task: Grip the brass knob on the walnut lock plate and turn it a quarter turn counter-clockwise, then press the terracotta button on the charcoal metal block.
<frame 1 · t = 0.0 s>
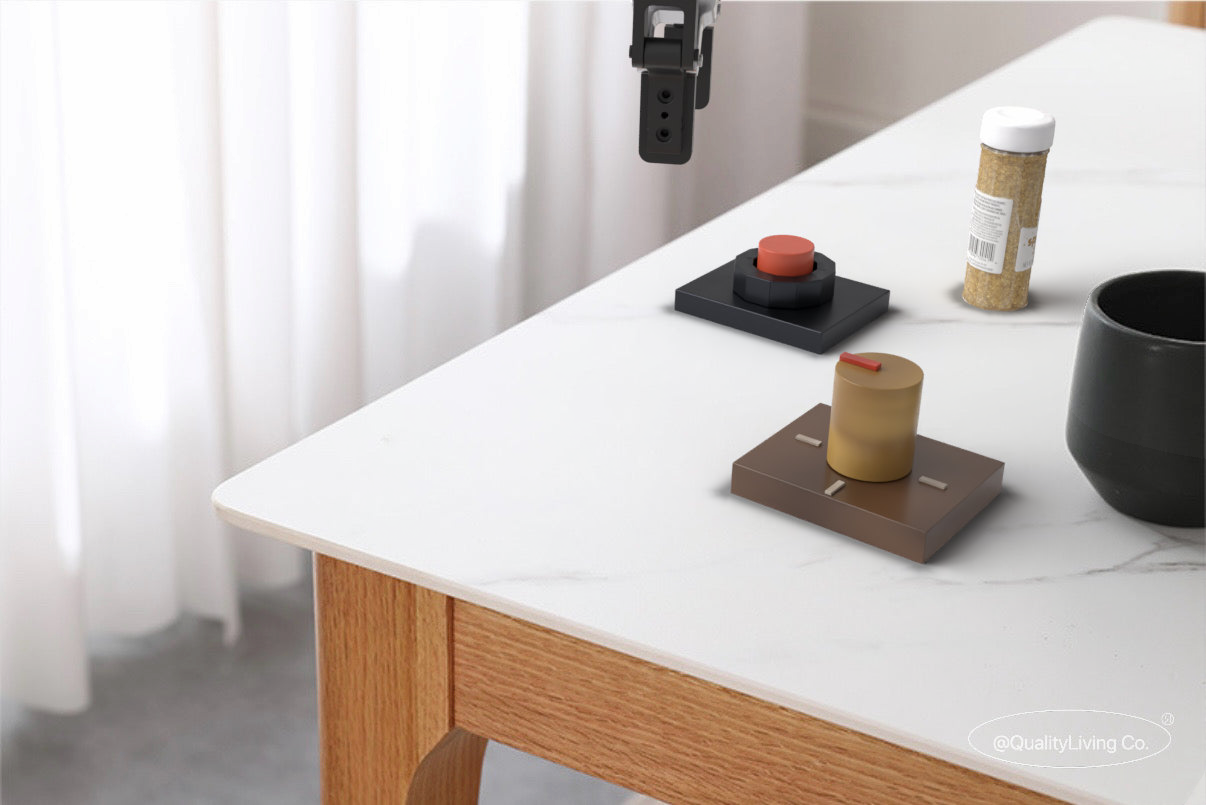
hand: (676, 132, 69), 21 cm above the table, tool pointing down, fingers open, 8 cm apart
lock plate: (864, 504, 82), on the table
button block: (780, 320, 103), on the table
button: (785, 256, 101), point 4 cm above the table, slide at 0.1 cm
lock knob: (874, 413, 79), point 5 cm above the table, hinge at 0.0°
sprinkles bottle: (992, 310, 106), on the table
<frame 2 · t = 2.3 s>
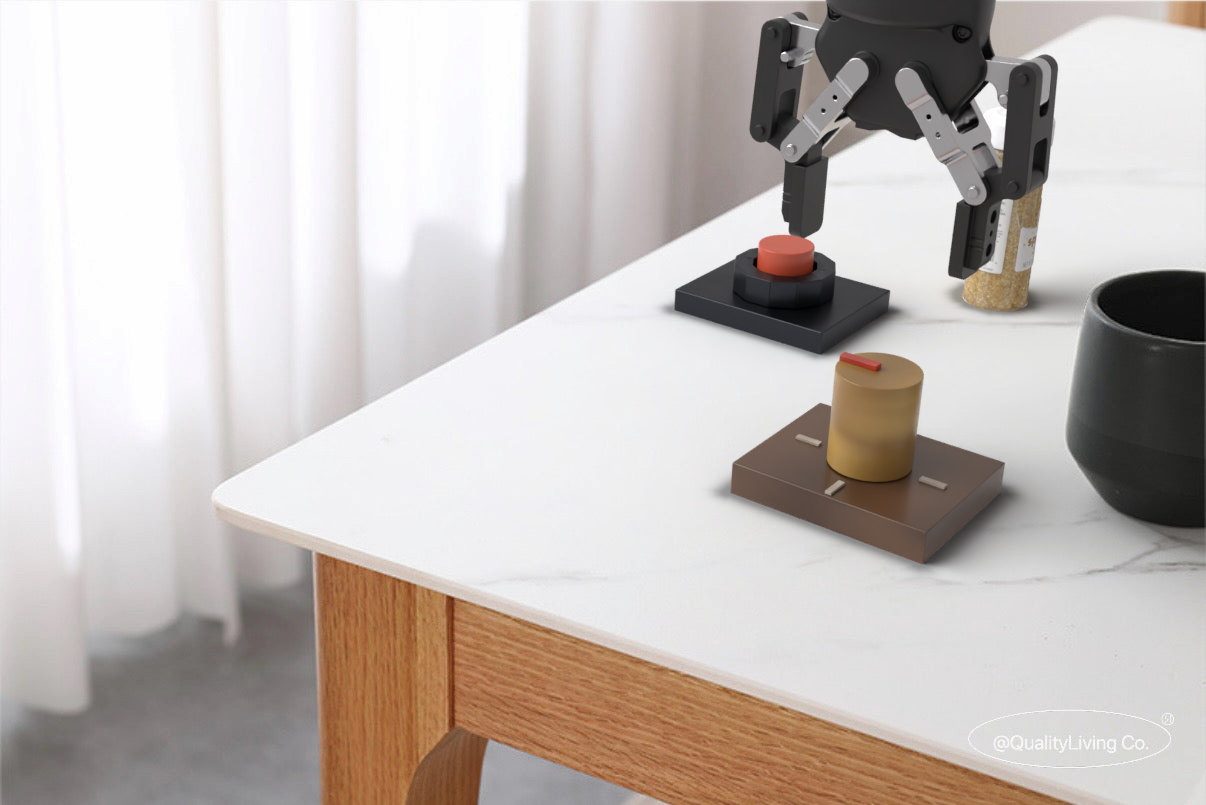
hand: (881, 252, 75), 14 cm above the table, tool pointing down, fingers open, 8 cm apart
nothing on the table moved.
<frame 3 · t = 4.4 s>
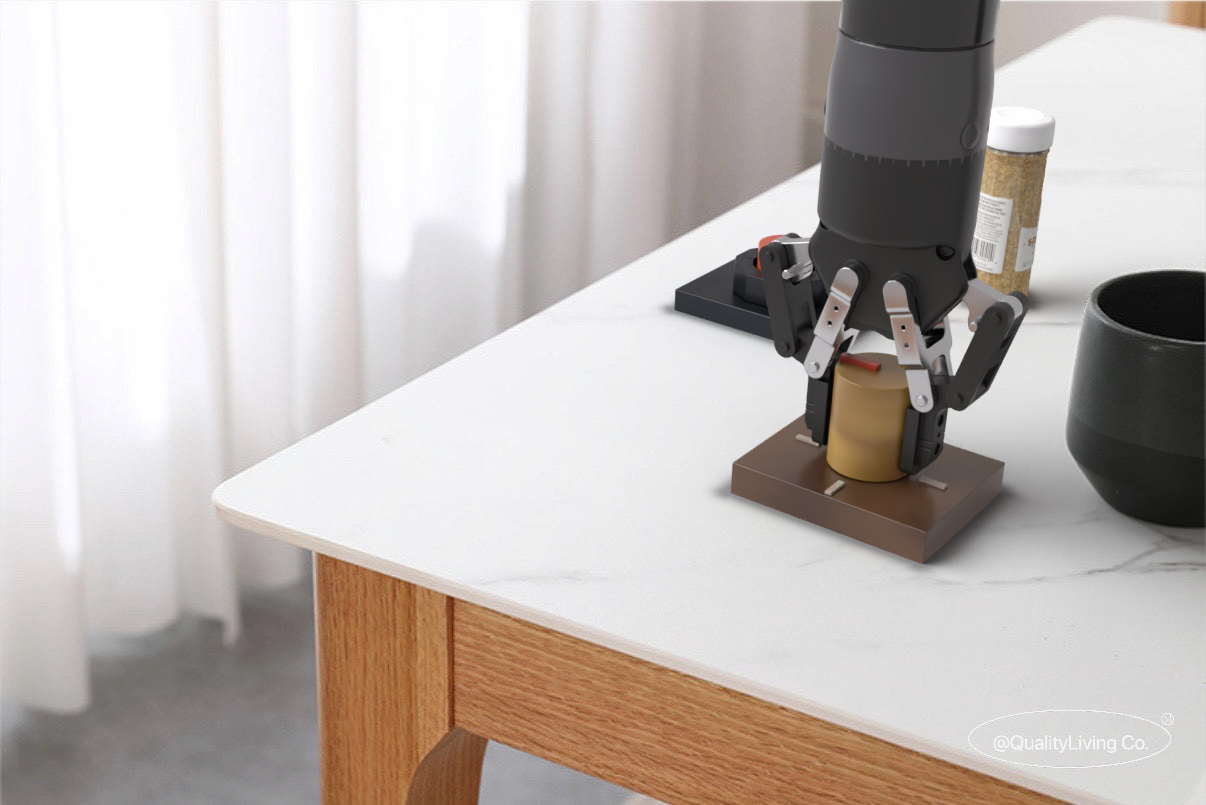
hand: (869, 451, 80), 3 cm above the table, tool pointing down, fingers closed on lock knob, 4 cm apart
lock knob: (874, 413, 79), point 5 cm above the table, hinge at 0.2°, touching gripper
everything else where it was.
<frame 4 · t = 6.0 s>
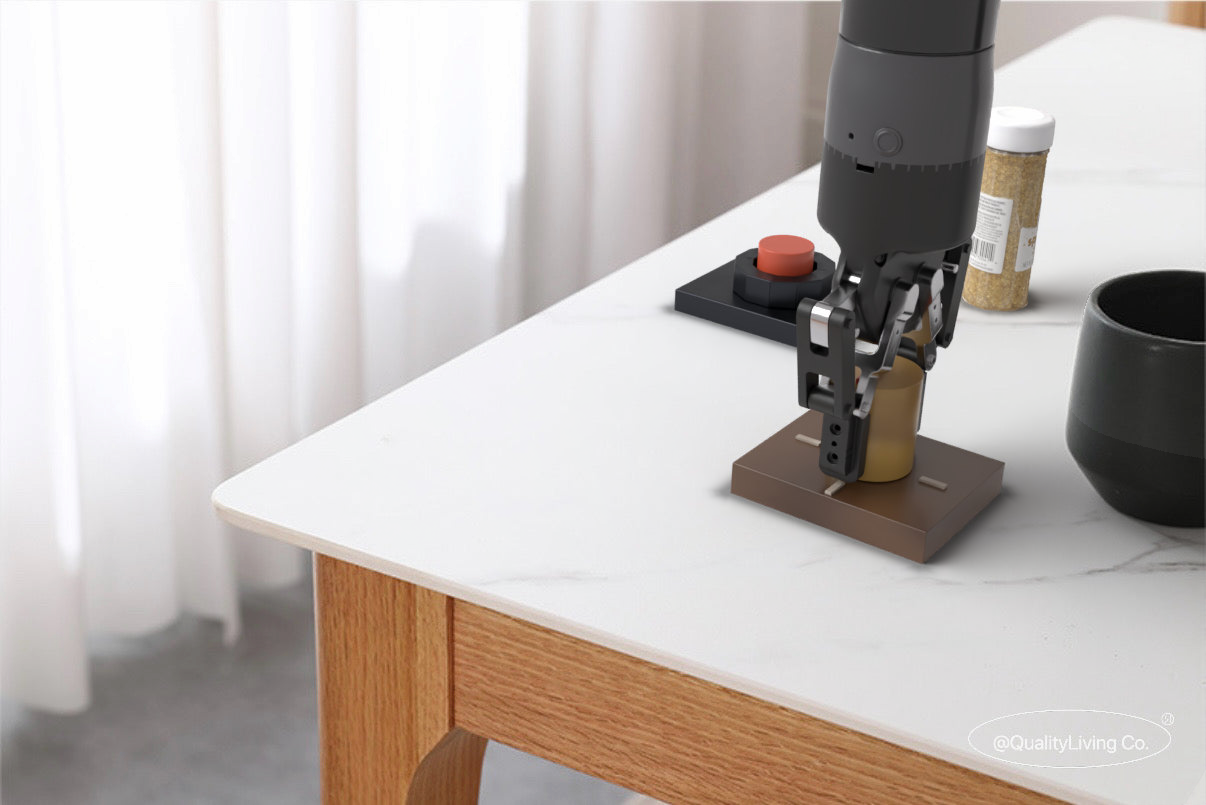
hand: (869, 452, 80), 3 cm above the table, tool pointing down, fingers open, 5 cm apart
lock knob: (874, 413, 79), point 5 cm above the table, hinge at 92.5°
everything else where it was.
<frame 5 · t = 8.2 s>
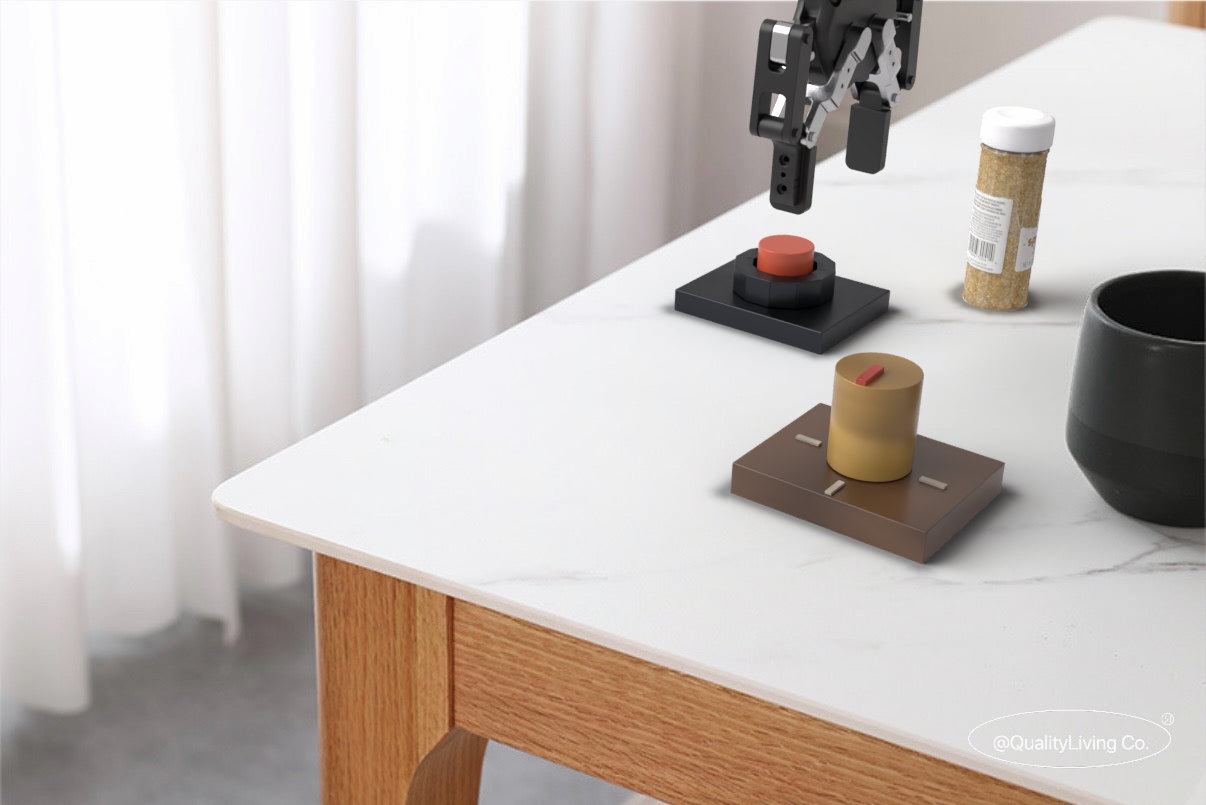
hand: (828, 189, 87), 13 cm above the table, tool pointing down, fingers open, 8 cm apart
nothing on the table moved.
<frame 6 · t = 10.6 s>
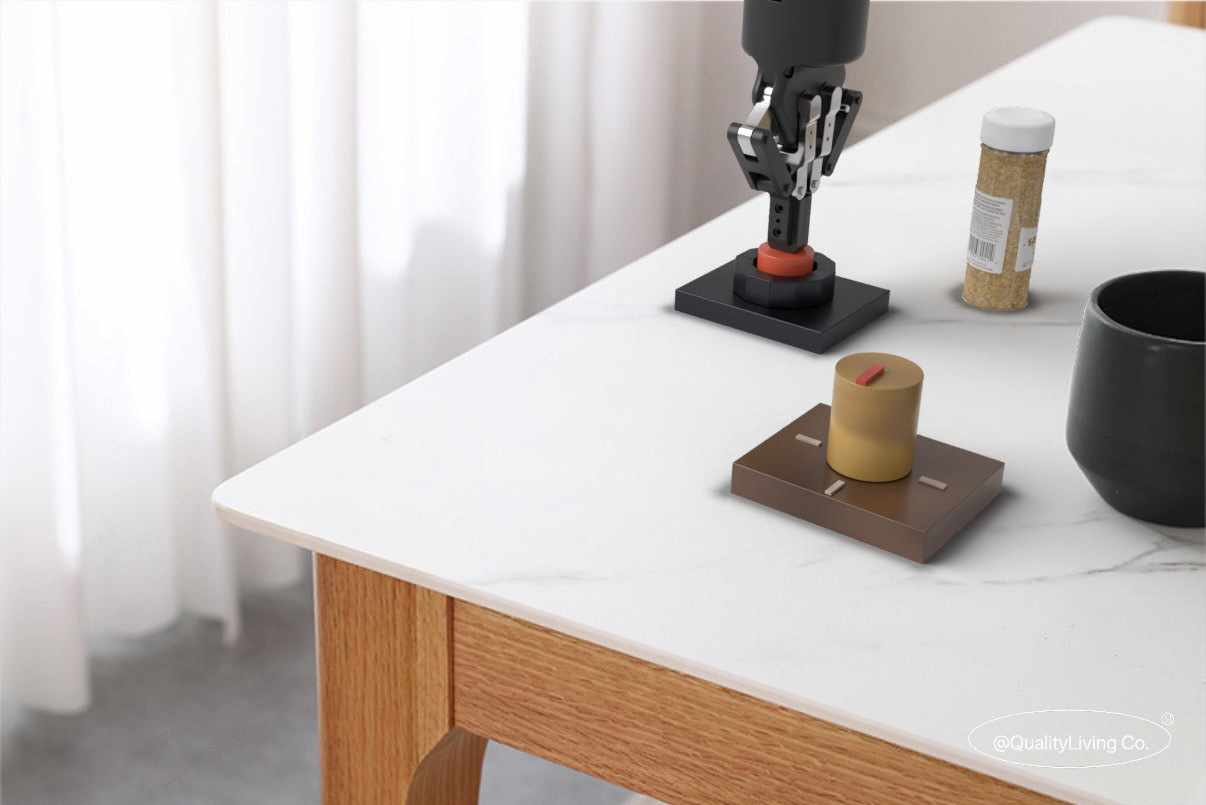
hand: (786, 247, 101), 5 cm above the table, tool pointing down, fingers closed
button: (785, 261, 101), point 4 cm above the table, slide at -0.2 cm, touching gripper
everything else where it was.
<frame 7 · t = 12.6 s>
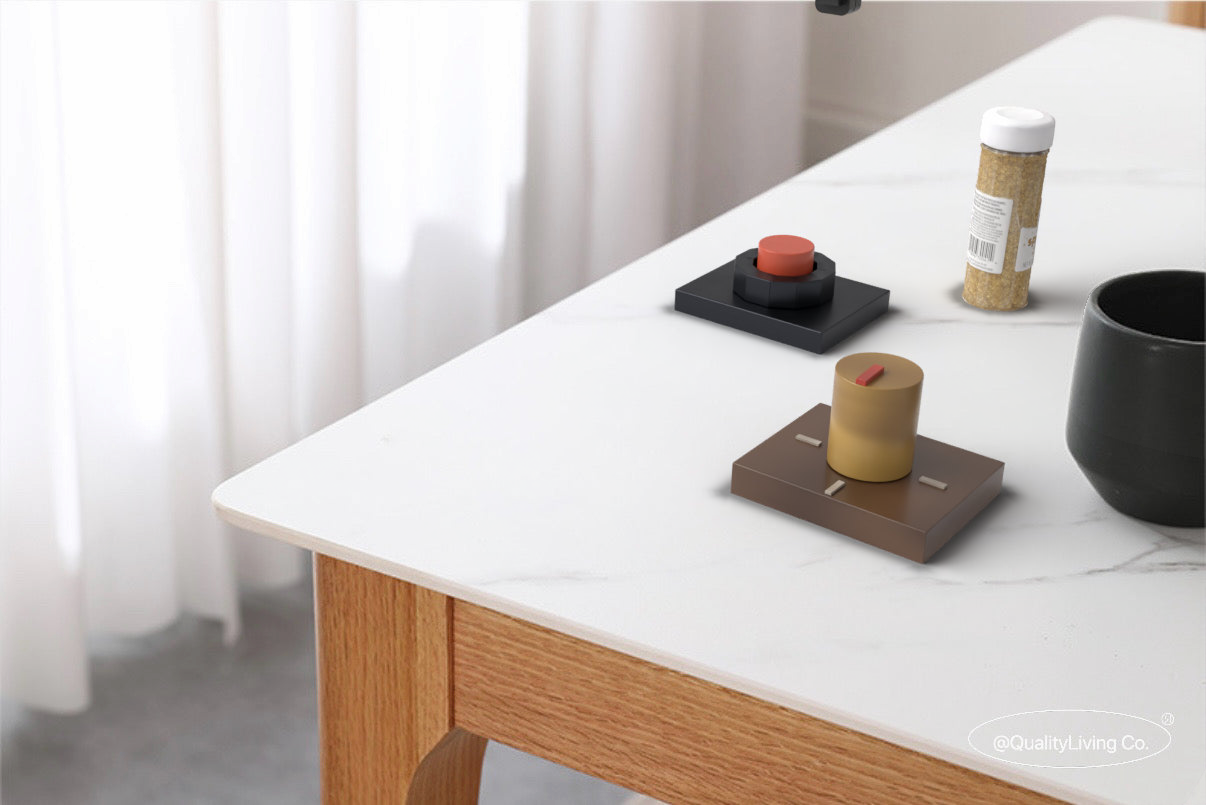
hand: (837, 11, 90), 21 cm above the table, tool pointing down, fingers closed
button: (785, 256, 101), point 4 cm above the table, slide at 0.1 cm
everything else where it was.
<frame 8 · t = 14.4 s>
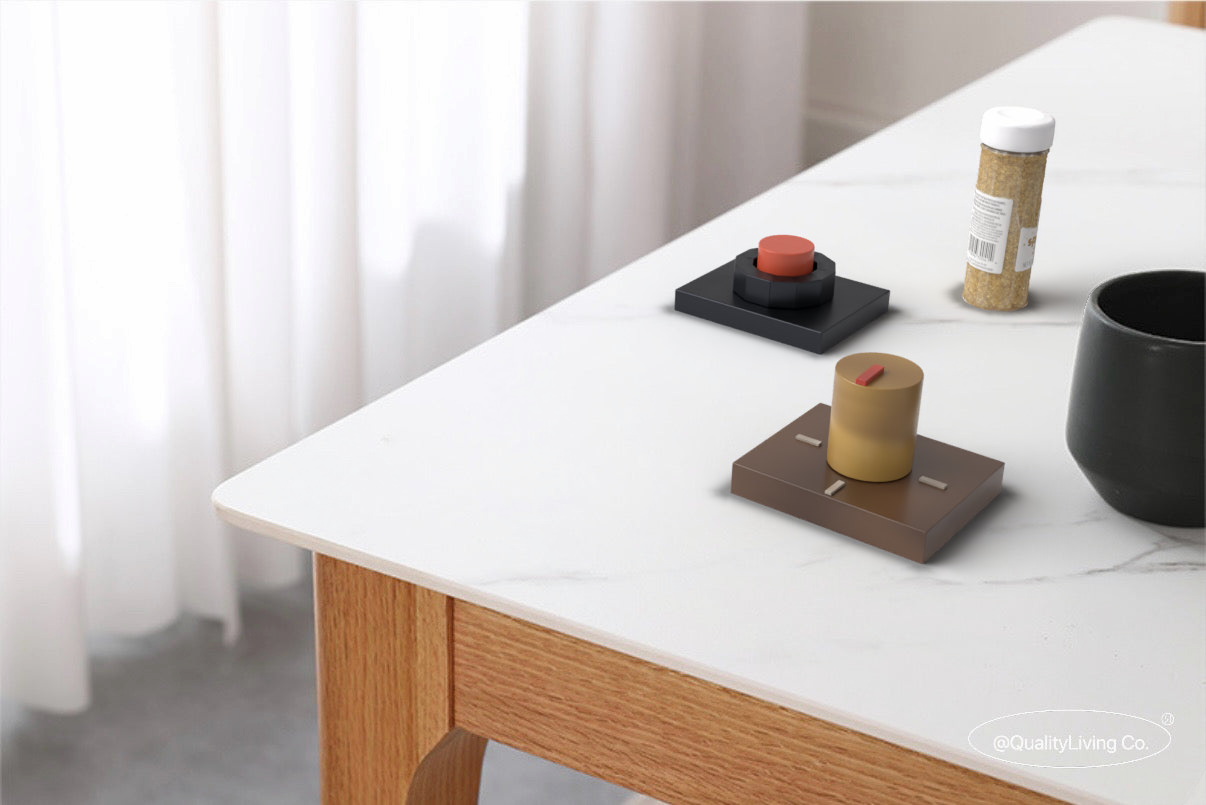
nothing on the table moved.
at the end: lock knob at +92° (first picture: +0°); button pushed in 1.1 cm at the most during the clip, back to where it started at the end; button slide at 0.1 cm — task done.
